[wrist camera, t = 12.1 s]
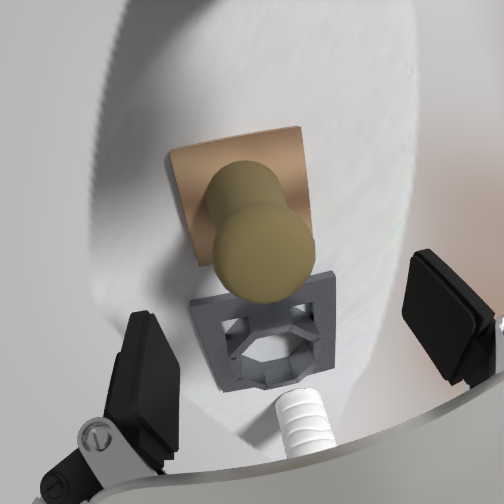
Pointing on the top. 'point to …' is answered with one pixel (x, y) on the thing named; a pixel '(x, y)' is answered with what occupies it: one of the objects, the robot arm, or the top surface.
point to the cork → (257, 235)
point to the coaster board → (231, 150)
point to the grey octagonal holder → (267, 324)
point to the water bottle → (303, 423)
